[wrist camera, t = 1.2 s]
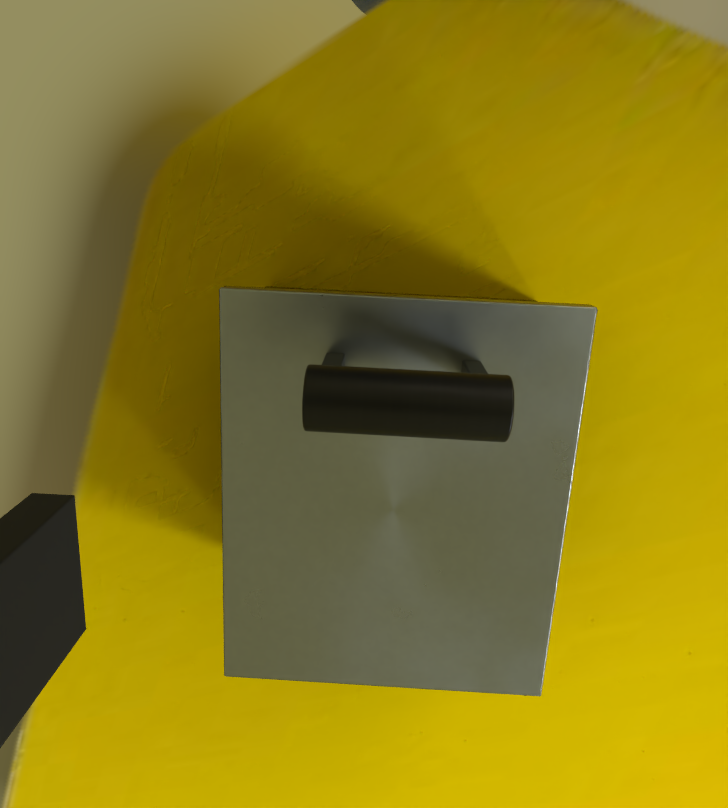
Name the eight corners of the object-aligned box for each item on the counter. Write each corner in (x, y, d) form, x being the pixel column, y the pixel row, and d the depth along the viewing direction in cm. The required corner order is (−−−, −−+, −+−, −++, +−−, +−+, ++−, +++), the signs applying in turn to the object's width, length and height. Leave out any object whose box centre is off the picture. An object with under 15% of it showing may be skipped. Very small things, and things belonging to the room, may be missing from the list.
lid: (223, 285, 25) (165, 312, 18) (591, 304, 25) (665, 338, 18) (228, 664, 30) (183, 793, 23) (537, 684, 29) (580, 820, 23)
